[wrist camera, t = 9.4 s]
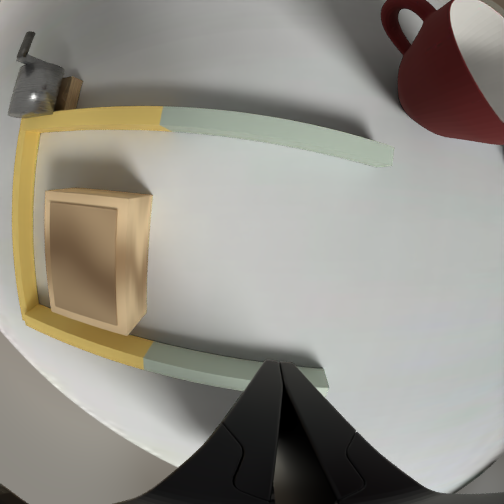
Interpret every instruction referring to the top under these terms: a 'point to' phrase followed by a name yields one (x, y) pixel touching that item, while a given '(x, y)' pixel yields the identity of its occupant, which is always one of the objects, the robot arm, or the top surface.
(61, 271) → the box
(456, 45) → the mug
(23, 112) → the winch
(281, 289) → the top surface
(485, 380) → the top surface
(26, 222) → the bay
